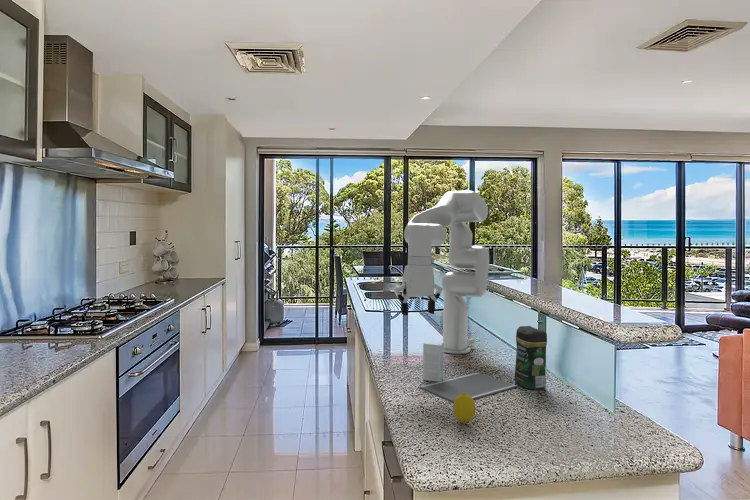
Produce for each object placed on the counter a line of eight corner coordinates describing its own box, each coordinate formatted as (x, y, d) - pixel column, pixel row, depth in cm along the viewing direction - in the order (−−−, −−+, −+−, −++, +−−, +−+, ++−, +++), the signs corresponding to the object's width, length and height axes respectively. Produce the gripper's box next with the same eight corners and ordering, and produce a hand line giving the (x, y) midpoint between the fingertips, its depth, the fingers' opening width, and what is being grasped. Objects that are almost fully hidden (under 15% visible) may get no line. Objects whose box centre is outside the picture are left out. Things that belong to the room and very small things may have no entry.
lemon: (450, 419, 125) (451, 388, 124) (471, 418, 125) (472, 388, 125) (455, 428, 119) (456, 396, 119) (477, 427, 120) (478, 396, 119)
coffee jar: (510, 381, 156) (512, 324, 155) (531, 379, 158) (533, 323, 157) (527, 391, 147) (529, 331, 146) (549, 389, 149) (552, 330, 148)
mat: (477, 373, 163) (478, 372, 163) (516, 387, 150) (516, 385, 150) (420, 387, 148) (420, 386, 148) (457, 404, 135) (457, 402, 135)
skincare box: (443, 378, 158) (444, 342, 157) (440, 382, 154) (441, 345, 153) (425, 376, 160) (426, 340, 159) (422, 380, 156) (423, 343, 155)
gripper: (436, 260, 163) (435, 310, 164) (390, 261, 156) (389, 313, 157) (448, 262, 156) (446, 314, 157) (400, 262, 150) (399, 317, 150)
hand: (417, 313), depth 157 cm, fingers open, 9 cm apart
